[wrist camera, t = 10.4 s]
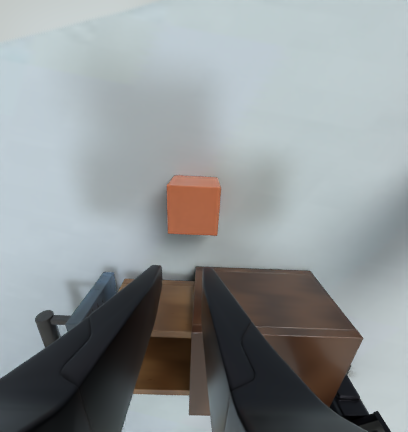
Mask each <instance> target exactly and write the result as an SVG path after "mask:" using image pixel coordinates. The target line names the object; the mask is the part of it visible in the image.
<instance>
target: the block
mask: <svg viewBox="0 0 408 432" xmlns="http://www.w3.org/2000/svg"><path fill="white" fill-rule="evenodd" d="M220 195H221V187H220V184H219V181H218V178H217V177H200V176H178V175H174V177H173V178H172V179H171V181H170V182H169V183H168V184H167V218H168V234H189V235H214V236H217V232H218V220H219V207H220Z"/></svg>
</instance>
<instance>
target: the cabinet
mask: <svg viewBox="0 0 408 432" xmlns="http://www.w3.org/2000/svg"><path fill="white" fill-rule="evenodd" d="M203 268H204V267H196V271H195V286H194V302H193V317H192V334H191V365H190V396H189V415H204V416H210V406H209V396H208V386H207V375H206V365H205V355H204V344H203V334H202V323H201V305H202V275H203ZM212 268H213V269H214V271H215V272H216V273H217V275H218V276H219V277H220V279H221V280H222V281H223V283H224V284H225V285H226V287H227V288H228V289H229V291H230V292H231V294H232V295H233V296H234V298H235V299H236V300H237V302H238V303H239V304H240V306H241V307H242V308H243V310H244V311H245V312H246V314H247V315H248V317H249V318H250V319H251V321H252V322H253V323H254V325H255V326H256V327H257V329H258V330H259V331H260V333H261V334H262V335H263V336H264V338H265V339H266V340H267V341H268V343H269V344H270V345H271V346H272V347H273V348H274V350H275V351H276V352H277V353H278V354H279V355H280V356H281V358H282V359H283V360H284V361H285V362H286V363H287V364H288V365H289V366H290V367H291V369H292V370H293V371H294V372H295V373H296V374H297V375H298V376H299V377H300V378H301V380H302V381H303V382H304V383H305V384H306V385H307V386H308V387H309V388H310V389H311V391H312V392H313V393H314V394H315V395H316V396H317V397H318V398H319V399H320V400H321V401H322V402H323V403H324V404H326V405H327V406H328V407H330V405H331V403H332V401H333V399H334V397H335V395H336V393H337V391H338V389H339V387H340V385H341V383H342V381H343V379H344V377H345V375H346V373H347V371H348V369H349V367H350V365H351V362H352V360H353V358H354V356H355V354H356V352H357V350H358V348H359V346H360V344H361V342H362V340H363V337H362V336H361V335H360V333H359V332H358V331H357V330H356V328H355V327H354V326H353V325H352V323H351V322H350V321H349V320H348V318H347V317H346V316H345V314H344V313H343V312H342V311H341V309H340V308H339V307H338V306H337V304H336V303H335V302H334V301H333V299H332V298H331V297H330V296H329V294H328V293H327V292H326V290H325V289H324V288H323V287H322V285H321V284H320V283H319V282H318V280H317V279H316V278H315V277H314V275H313V274H312V273H311V271H298V270H272V269H246V268H220V267H212Z"/></svg>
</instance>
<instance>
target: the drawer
mask: <svg viewBox="0 0 408 432" xmlns="http://www.w3.org/2000/svg"><path fill="white" fill-rule="evenodd" d="M133 280H134V279H124V281H123V283H122V285H121V287H120V289H119V290H118V292H119V291H120V290H122V289H123V288H124V287H125V286H127V285H128V284H129V283H130V282H132V281H133ZM194 286H195V281H174V280H162V289H161V294H160V300H159V305H158V310H157V315H156V320H155V323H154V327H153V330H152V333H151V337H150V340H149V343H148V346H147V349H146V353H145V356H144V359H143V362H142V366H141V369H140V372H139V375H138V379H137V382H136V385H135V388H134V392H133V394H154V395H190V365H191V334H192V317H193V302H194ZM118 292H117V290H116V283H115V276H114V273H113V272H103V274H102V275H101V276H100V278H99V279H98V280H97V282H96V283H95V285H94V286H93V287H92V289H91V290H90V291H89V293H88V294H87V295H86V297H85V298H84V299H83V301H82V302H81V303H80V305H79V306H78V307H77V309H76V310H75V312H74V313H73V314H72V316H64V315H54V313H53V311H51V310H47V311H43V312H41V313H40V314H38V315H37V316H36V318H35V322H36V324H37V327H38V330H39V333H40V335H41V338H42V341H43V343H44V346H45V348H46V347H47V346H49V345H50V344H52V343H53V342H54V341H56V340H57V339H59V338H60V337H61V336H60V332H59V329H58V326H57V325H66V328H67V332H68V331H69V330H71V329H72V328H73V327H75V326H76V325H77V324H79V323H80V322H81V321H82V320H84V319H85V318H86V317H89V315H90V314H91V313H93V312H94V311H95V310H96V309H98V308H99V307H100V306H101V305H103V304H104V303H105V302H106V301H108V300H109V299H110V298H111V297H113V296H114V295H115V294H116V293H118Z"/></svg>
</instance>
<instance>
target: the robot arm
mask: <svg viewBox="0 0 408 432" xmlns="http://www.w3.org/2000/svg"><path fill="white" fill-rule="evenodd" d="M161 289H162V267H161V266H160V265H152V266H150V267H149V268H148V269H147V270H145V271H144V272H143V273H142V274H140V275H139V276H138V277H137V278H135V279H134V280H133V281H132V282H130V283H129V284H128V285H127V286H125V287H124V288H123V289H122V290H120V291H119V292H118V293H116V294H115V295H114V296H113V297H111V298H110V299H109V300H108V301H106V302H105V303H104V304H103V305H101V306H100V307H99V308H98V309H96V310H95V311H94V312H93V313H91V314H90V315H89V317H86V318H85V319H84V320H82V321H81V322H80V323H79V324H77V325H76V326H75V327H73V328H72V329H71V330H69V331H68V332H67V333H66V334H64V335H63V336H62V337H60V338H59V339H57V340H56V341H54V342H53V343H52V344H50V345H49V346H47V347H46V348H45V349H43V350H42V351H40V352H39V353H37V354H36V355H34V356H33V357H31V358H30V359H29V360H27V361H26V362H24V363H23V364H21V365H20V366H18V367H17V368H15V369H14V370H13V371H11V372H10V373H8V374H7V375H5V376H4V377H2V378H1V379H0V432H121V430H122V427H123V424H124V421H125V417H126V414H127V411H128V408H129V404H130V401H131V398H132V395H133V392H134V388H135V385H136V382H137V379H138V375H139V372H140V369H141V366H142V362H143V359H144V356H145V353H146V349H147V346H148V343H149V340H150V337H151V333H152V330H153V327H154V323H155V320H156V315H157V310H158V305H159V300H160V294H161ZM201 323H202V334H203V344H204V355H205V365H206V375H207V386H208V396H209V406H210V416H211V427H212V432H391V431H390V429H389V428H388V426H387V425H386V423H385V422H384V420H383V418H382V417H381V415H380V414H379V412H378V411H376V412H374V413H373V414H369V413H368V411H367V409H366V408H365V406H364V404H363V403H362V401H361V399H360V396H359V394H358V393H357V391H356V389H355V388H354V386H353V384H352V383H351V381H350V379H349V378H348V376H347V373H348V371H349V369H350V367H351V365H350V367H349V369H348V371H347V373H346V375H345V377H344V379H343V381H342V383H341V385H340V387H339V389H338V391H337V393H336V395H335V397H334V399H333V401H332V403H331V405H330V407H328V406H327V405H326V404H324V403H323V402H322V401H321V400H320V399H319V398H318V397H317V396H316V395H315V394H314V393H313V392H312V391H311V389H310V388H309V387H308V386H307V385H306V384H305V383H304V382H303V381H302V380H301V378H300V377H299V376H298V375H297V374H296V373H295V372H294V371H293V370H292V369H291V367H290V366H289V365H288V364H287V363H286V362H285V361H284V360H283V359H282V358H281V356H280V355H279V354H278V353H277V352H276V351H275V350H274V348H273V347H272V346H271V345H270V344H269V343H268V341H267V340H266V339H265V338H264V336H263V335H262V334H261V333H260V331H259V330H258V329H257V327H256V326H255V325H254V323H253V322H252V321H251V319H250V318H249V317H248V315H247V314H246V312H245V311H244V310H243V308H242V307H241V306H240V304H239V303H238V302H237V300H236V299H235V298H234V296H233V295H232V294H231V292H230V291H229V289H228V288H227V287H226V285H225V284H224V283H223V281H222V280H221V279H220V277H219V276H218V275H217V273H216V272H215V271H214V269H213V268H212V267H204V268H203V275H202V305H201Z"/></svg>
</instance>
